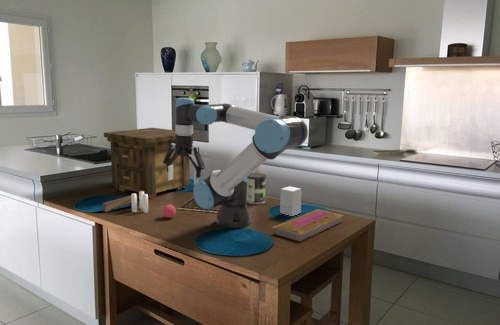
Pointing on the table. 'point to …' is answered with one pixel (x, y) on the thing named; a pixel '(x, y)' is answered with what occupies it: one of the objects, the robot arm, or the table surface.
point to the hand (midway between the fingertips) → (183, 182)
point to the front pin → (145, 203)
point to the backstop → (116, 203)
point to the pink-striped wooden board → (305, 220)
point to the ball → (169, 211)
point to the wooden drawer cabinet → (146, 161)
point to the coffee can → (256, 188)
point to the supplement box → (290, 201)
